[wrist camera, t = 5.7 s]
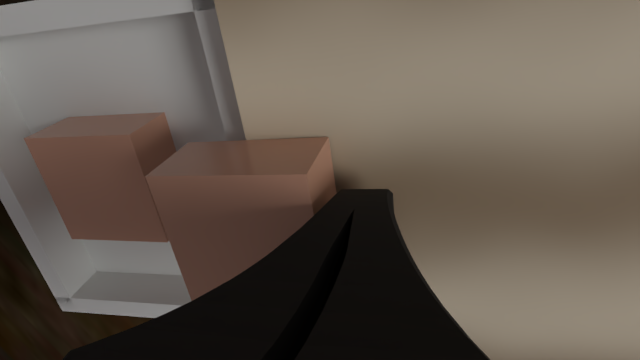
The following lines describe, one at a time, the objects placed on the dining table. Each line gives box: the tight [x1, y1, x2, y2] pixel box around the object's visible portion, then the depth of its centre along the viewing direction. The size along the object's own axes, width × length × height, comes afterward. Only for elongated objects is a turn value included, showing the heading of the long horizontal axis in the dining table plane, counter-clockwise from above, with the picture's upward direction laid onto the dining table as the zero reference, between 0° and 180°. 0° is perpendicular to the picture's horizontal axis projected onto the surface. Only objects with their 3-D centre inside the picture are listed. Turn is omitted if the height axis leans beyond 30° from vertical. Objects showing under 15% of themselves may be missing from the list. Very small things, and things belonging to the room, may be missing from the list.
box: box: [0, 0, 246, 318], centre depth 15 cm, size 12×11×2 cm
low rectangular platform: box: [214, 0, 640, 360], centre depth 12 cm, size 12×15×4 cm
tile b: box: [24, 112, 176, 242], centre depth 15 cm, size 4×4×2 cm
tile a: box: [145, 137, 337, 301], centre depth 11 cm, size 4×4×2 cm
